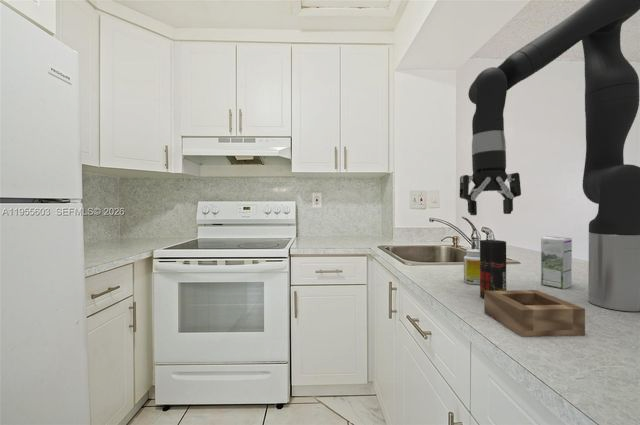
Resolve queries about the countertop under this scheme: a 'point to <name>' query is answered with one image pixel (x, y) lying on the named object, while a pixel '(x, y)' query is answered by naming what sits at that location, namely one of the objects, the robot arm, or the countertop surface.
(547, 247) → the syrup box
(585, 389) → the countertop surface
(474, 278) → the supplement bottle
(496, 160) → the robot arm
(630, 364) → the countertop surface
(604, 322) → the countertop surface
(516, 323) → the socket block
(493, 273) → the deodorant
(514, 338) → the countertop surface
